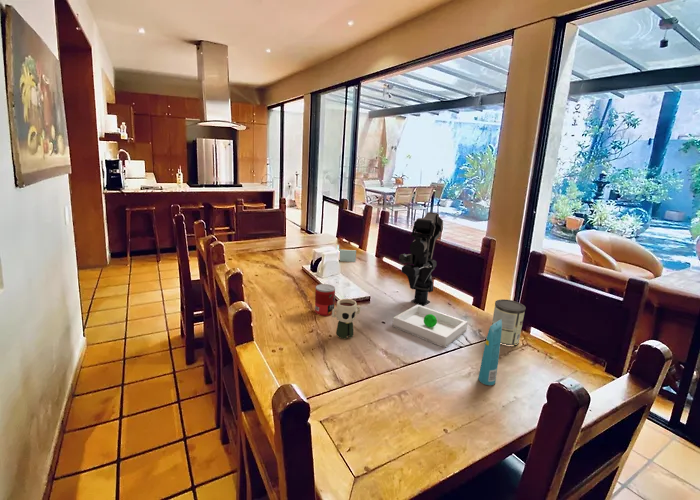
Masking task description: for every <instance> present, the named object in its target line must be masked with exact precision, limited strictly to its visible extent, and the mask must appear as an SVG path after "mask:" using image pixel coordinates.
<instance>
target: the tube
mask: <svg viewBox="0 0 700 500" xmlns="http://www.w3.org/2000/svg"><path fill="white" fill-rule="evenodd" d="M501 332H502V319H501V320H499V321H497V322H496V323H494V324H493V325H492V324H491V325H490V326H489V329H488V332H487V336H486V340H485V343H484V348H483V353H482V357H481V362H480V369H479V372H478V378H477V379H478V381H479V382H480V383H481V384H483V385H486V386H494V385H495V384H496V381H497V374H498V366H499V359H500V358H499V357H500V350H501V349H500V348H501V345H500V342H501Z"/></svg>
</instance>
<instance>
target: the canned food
mask: <svg viewBox="0 0 700 500" xmlns="http://www.w3.org/2000/svg"><path fill="white" fill-rule="evenodd" d="M314 294H315V296H314V298H315V299H314V313H315V314H317V315H318V316H322V317H329V316H332V310H333V309H335V301H336V299H335V298H336V297H335V296H336V286H334V285H332V284H328V283H320V284H317V285H316V286H315V293H314Z"/></svg>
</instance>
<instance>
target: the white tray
mask: <svg viewBox="0 0 700 500" xmlns="http://www.w3.org/2000/svg"><path fill="white" fill-rule="evenodd" d="M428 314H432V315H434V316H435V317H436V319H437V324H436V325H435V326H434V327H428V326H426V325H425V323H424V317H425V316H426V315H428ZM392 319H393V320H392V327H393V328H395V329H397V330H400V331H403V332H405V333H407V334H410V335H411V336H414V337H418V338H420V339H423V340H424V341H427V342H429V343H432V344H434V345H438V346H440V347H442V348H444V349H445V348H447V347H448V346H449V345H451V344H452V343H453V342H454V341H456V340H457V339H458V338H459V337H461V336H462V335H463V334H465V333H466V332H467V327H468V321H467V320H464V319H462V318H458V317H455V316H452V315H449V314H445V313H443V312H441V311H437V310H435V309H433V308H429V307H427V306H425V305H424V306H422V305H419V304H416V305H413V306H412V307H410V308H408V309H407V310H404V311H402V312H401V313H399V314H397V315H395V316H394V317H393V318H392ZM465 331H466V332H465ZM460 335H461V336H460Z"/></svg>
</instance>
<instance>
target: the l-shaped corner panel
mask: <svg viewBox="0 0 700 500" xmlns="http://www.w3.org/2000/svg"><path fill="white" fill-rule="evenodd" d="M336 249H338V250H339V251H340V261H339V262H346V263H347V262H348V263H349V262H350V263H356V261H357V250H353V249H351V250H350V249H340V244H337V245H336Z"/></svg>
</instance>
